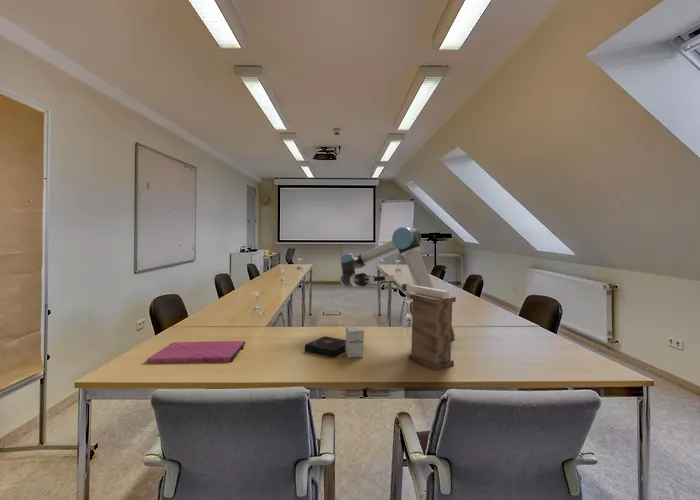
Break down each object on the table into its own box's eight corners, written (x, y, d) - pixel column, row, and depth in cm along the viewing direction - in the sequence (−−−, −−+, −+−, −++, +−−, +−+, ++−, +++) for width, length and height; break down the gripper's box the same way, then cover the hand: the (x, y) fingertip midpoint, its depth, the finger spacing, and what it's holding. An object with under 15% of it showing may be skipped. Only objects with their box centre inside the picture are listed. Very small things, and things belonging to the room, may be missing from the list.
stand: (426, 354, 167) (428, 292, 166) (453, 365, 154) (455, 297, 153) (408, 359, 160) (409, 294, 159) (434, 370, 147) (436, 299, 146)
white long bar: (406, 289, 172) (406, 283, 172) (448, 298, 150) (449, 291, 150) (401, 290, 170) (402, 284, 170) (444, 298, 149) (444, 291, 148)
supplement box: (347, 358, 161) (348, 330, 160) (345, 352, 168) (345, 326, 167) (363, 357, 162) (364, 330, 161) (360, 352, 169) (360, 326, 169)
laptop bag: (145, 355, 150) (172, 338, 177) (145, 365, 150) (172, 346, 177) (241, 353, 153) (253, 337, 180) (241, 362, 153) (253, 344, 180)
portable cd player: (323, 343, 183) (323, 336, 183) (352, 349, 175) (352, 341, 174) (304, 352, 169) (304, 344, 169) (334, 359, 160) (334, 350, 160)
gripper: (376, 285, 207) (401, 284, 190) (341, 287, 193) (365, 287, 175) (375, 272, 208) (400, 270, 190) (340, 274, 193) (364, 272, 176)
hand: (383, 278), depth 183 cm, fingers open, 13 cm apart
